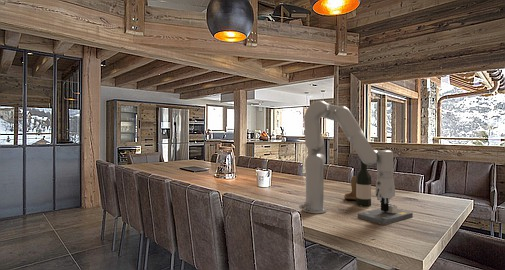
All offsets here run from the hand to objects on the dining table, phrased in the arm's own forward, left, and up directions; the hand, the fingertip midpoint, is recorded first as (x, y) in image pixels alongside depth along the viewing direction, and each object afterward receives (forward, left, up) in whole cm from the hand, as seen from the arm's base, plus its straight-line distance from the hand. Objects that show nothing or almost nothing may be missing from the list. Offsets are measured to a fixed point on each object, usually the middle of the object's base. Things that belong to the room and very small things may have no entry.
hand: (384, 210), depth 150 cm
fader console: (+1, 0, -3) cm, 3 cm away
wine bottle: (+13, +22, -4) cm, 26 cm away
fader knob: (+4, 0, -1) cm, 4 cm away
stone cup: (+21, +33, -4) cm, 39 cm away
